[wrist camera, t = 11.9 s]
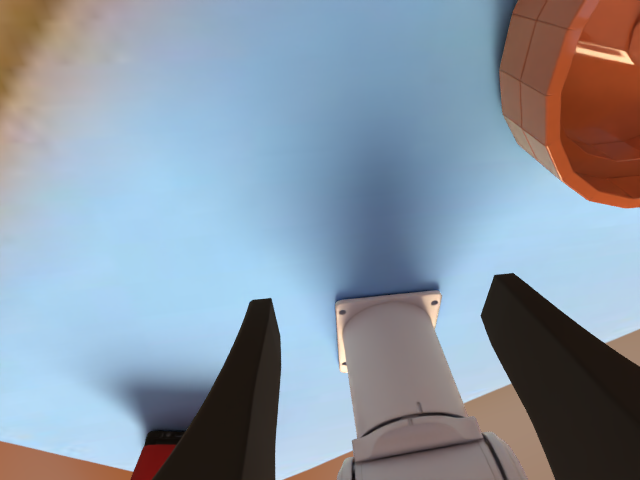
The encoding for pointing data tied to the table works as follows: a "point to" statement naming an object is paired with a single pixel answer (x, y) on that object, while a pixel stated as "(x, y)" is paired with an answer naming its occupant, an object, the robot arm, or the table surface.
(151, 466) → the handheld console
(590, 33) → the bowl
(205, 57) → the table surface
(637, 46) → the milkshake
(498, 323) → the robot arm
